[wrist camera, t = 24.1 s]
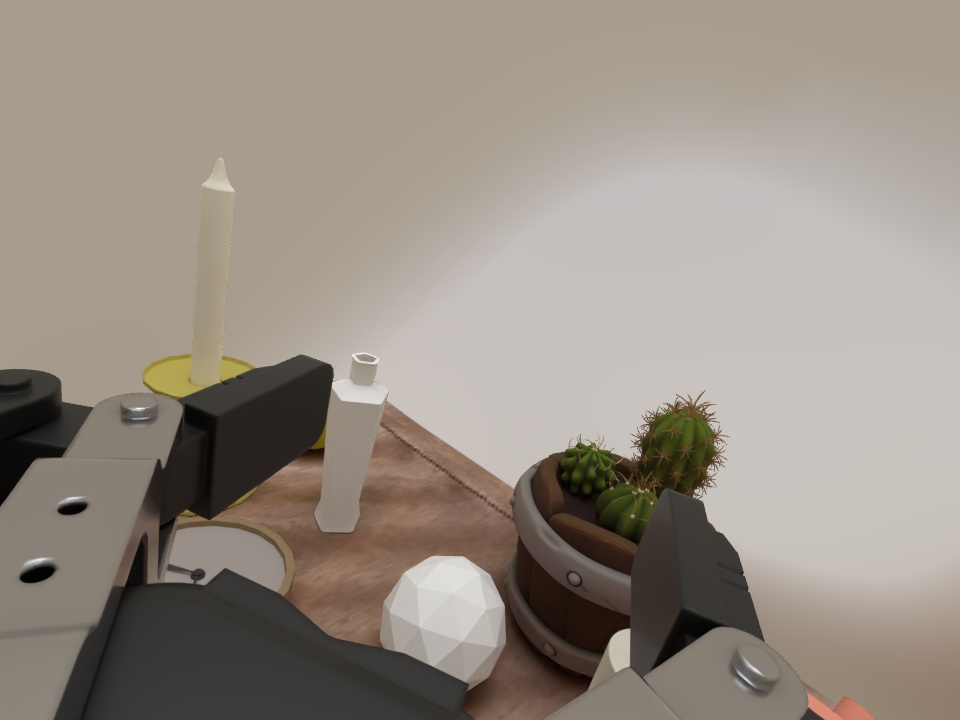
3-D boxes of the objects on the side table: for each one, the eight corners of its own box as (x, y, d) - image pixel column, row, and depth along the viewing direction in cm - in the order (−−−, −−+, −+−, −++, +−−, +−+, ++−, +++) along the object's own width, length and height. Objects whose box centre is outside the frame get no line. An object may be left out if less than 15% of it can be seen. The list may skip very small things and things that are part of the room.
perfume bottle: (331, 546, 40) (362, 375, 35) (299, 515, 42) (324, 351, 38) (375, 524, 44) (409, 366, 39) (344, 497, 46) (372, 345, 41)
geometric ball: (453, 706, 33) (540, 694, 29) (344, 696, 29) (424, 680, 25) (456, 585, 38) (531, 557, 34) (364, 562, 34) (433, 527, 30)
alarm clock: (299, 516, 38) (287, 675, 24) (291, 574, 39) (274, 761, 25) (126, 511, 34) (-6, 695, 21) (121, 575, 35) (-10, 795, 21)
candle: (260, 513, 42) (301, 174, 33) (113, 518, 37) (115, 131, 29) (261, 447, 50) (294, 163, 41) (142, 445, 46) (149, 129, 37)
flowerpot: (535, 745, 30) (657, 453, 23) (457, 555, 43) (520, 334, 36) (715, 701, 35) (853, 459, 29) (598, 546, 49) (674, 355, 42)
